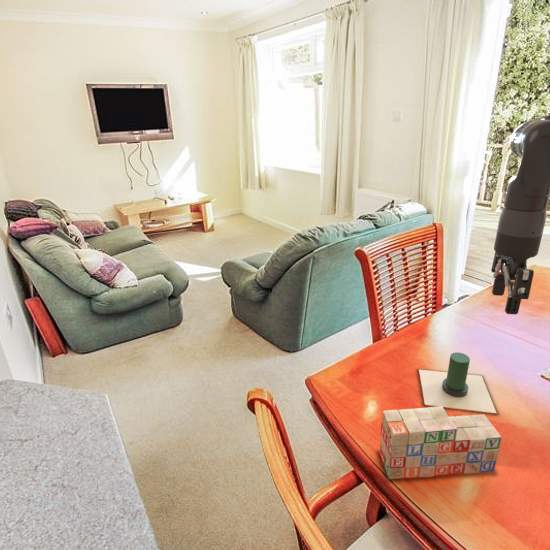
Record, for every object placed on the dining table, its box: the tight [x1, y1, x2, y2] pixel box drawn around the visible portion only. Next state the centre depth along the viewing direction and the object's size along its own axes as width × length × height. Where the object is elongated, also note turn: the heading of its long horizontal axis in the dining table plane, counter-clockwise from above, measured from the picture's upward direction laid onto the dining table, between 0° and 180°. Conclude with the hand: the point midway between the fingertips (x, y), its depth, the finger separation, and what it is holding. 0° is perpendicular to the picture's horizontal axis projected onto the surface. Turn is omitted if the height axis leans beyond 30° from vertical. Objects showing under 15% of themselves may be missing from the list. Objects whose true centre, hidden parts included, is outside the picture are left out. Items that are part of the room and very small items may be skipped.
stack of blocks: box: [379, 406, 502, 480], centre depth 75 cm, size 21×6×12 cm, turn 92°
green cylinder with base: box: [442, 352, 471, 397], centre depth 95 cm, size 6×6×10 cm
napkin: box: [418, 369, 498, 415], centre depth 97 cm, size 16×14×1 cm
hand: (503, 303), depth 79 cm, fingers open, 8 cm apart
